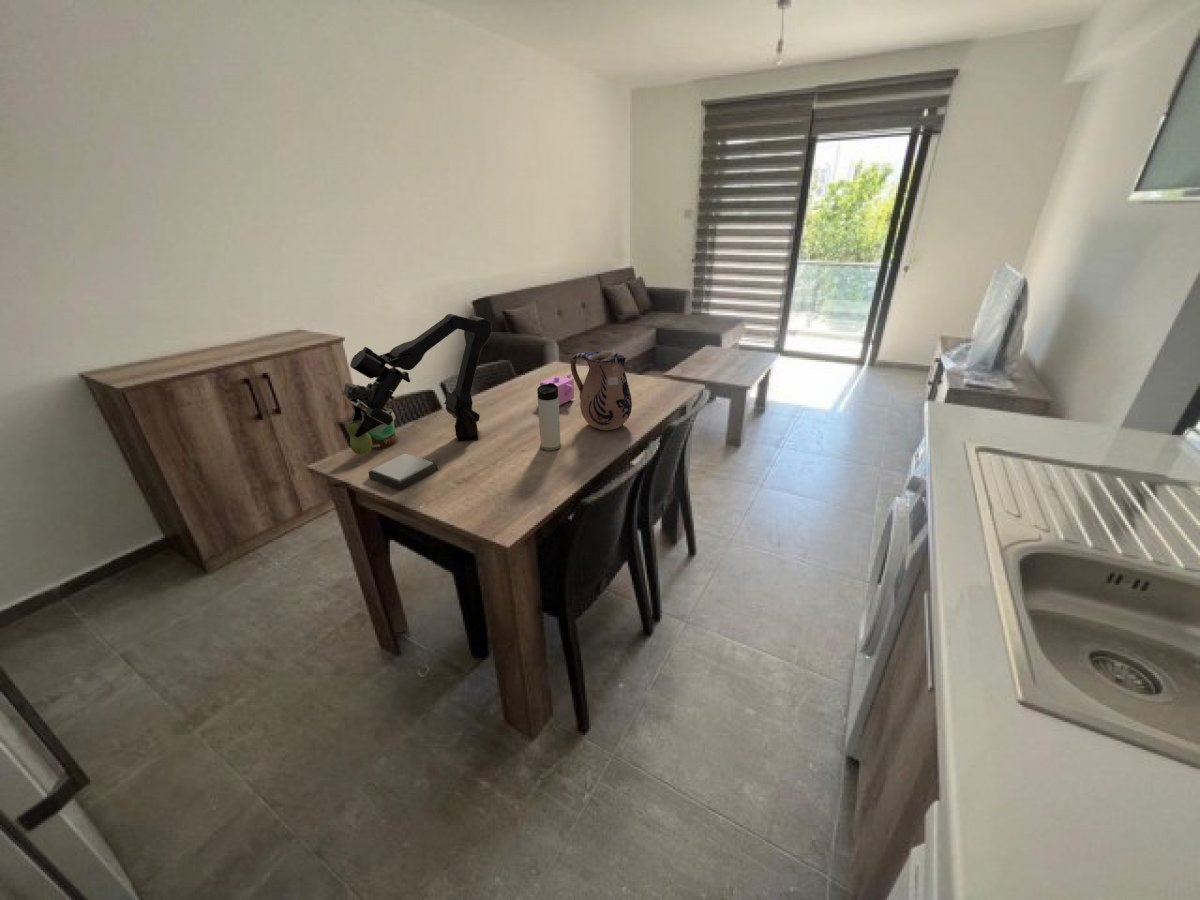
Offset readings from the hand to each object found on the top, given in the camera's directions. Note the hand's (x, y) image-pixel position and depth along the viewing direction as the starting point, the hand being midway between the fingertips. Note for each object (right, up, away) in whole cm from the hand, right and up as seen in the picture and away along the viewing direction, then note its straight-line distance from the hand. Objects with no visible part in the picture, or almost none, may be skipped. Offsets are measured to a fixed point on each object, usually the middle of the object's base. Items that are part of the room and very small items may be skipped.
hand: (353, 434), depth 133 cm
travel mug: (+53, -3, +19) cm, 57 cm away
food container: (0, -2, +22) cm, 22 cm away
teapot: (+53, +15, +55) cm, 78 cm away
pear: (+1, -6, +4) cm, 7 cm away
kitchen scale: (+13, -11, +4) cm, 17 cm away
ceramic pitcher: (+69, +4, +34) cm, 77 cm away
